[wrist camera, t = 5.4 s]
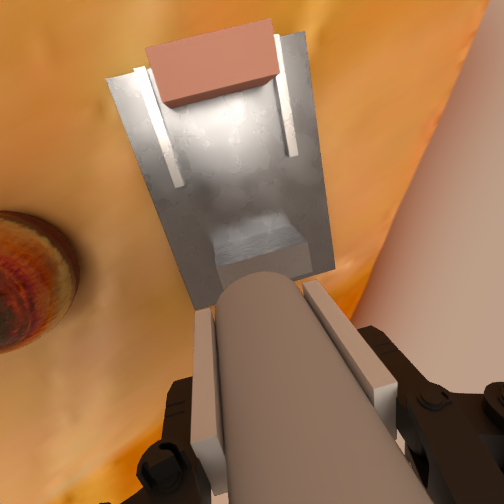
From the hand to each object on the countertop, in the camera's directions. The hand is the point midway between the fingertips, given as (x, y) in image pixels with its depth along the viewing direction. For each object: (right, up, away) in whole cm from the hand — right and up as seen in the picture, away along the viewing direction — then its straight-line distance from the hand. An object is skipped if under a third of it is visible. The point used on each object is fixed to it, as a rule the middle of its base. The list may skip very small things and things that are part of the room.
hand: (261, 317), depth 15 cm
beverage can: (0, +1, +1) cm, 1 cm away
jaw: (-4, +17, +8) cm, 19 cm away
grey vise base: (-1, +9, +13) cm, 16 cm away
